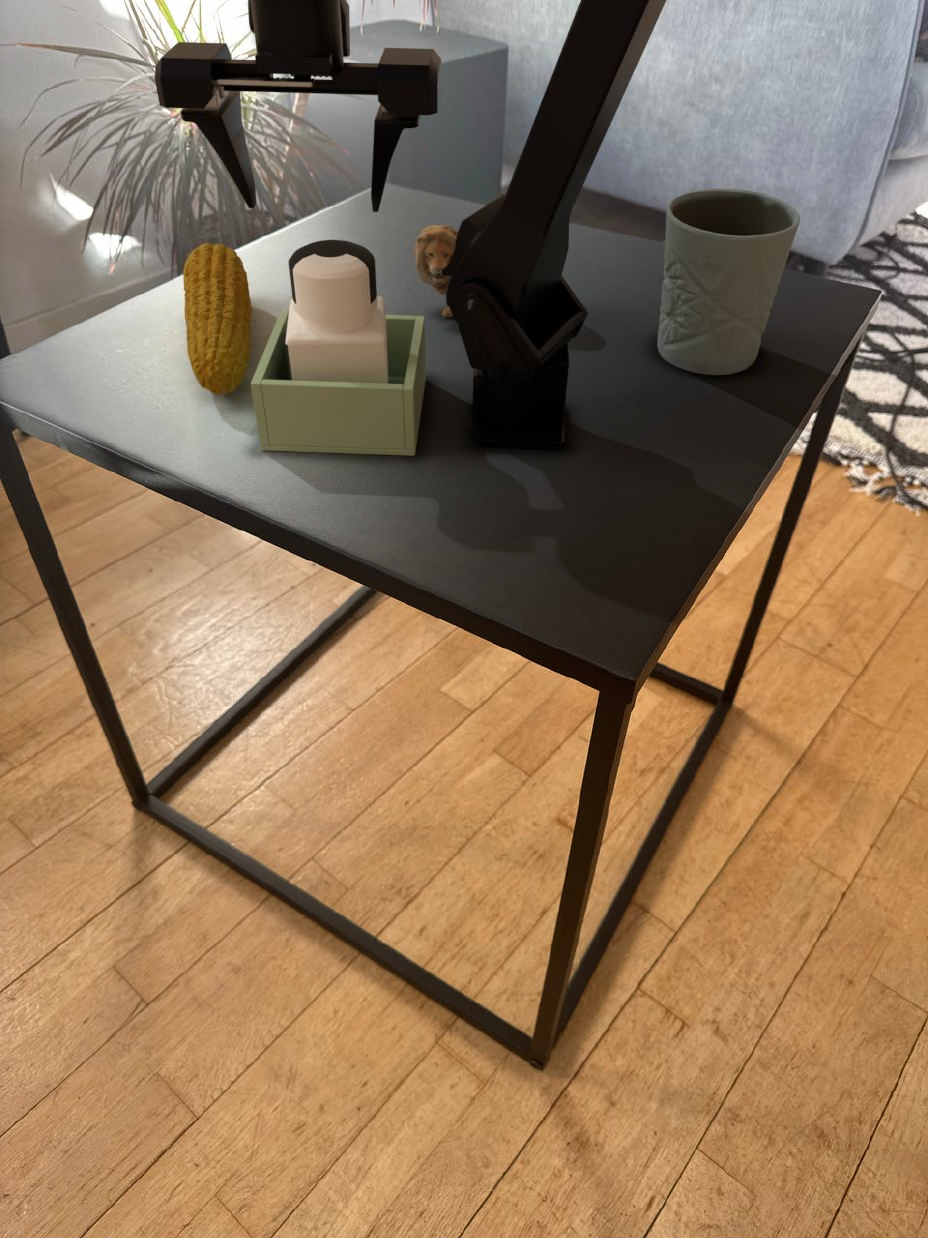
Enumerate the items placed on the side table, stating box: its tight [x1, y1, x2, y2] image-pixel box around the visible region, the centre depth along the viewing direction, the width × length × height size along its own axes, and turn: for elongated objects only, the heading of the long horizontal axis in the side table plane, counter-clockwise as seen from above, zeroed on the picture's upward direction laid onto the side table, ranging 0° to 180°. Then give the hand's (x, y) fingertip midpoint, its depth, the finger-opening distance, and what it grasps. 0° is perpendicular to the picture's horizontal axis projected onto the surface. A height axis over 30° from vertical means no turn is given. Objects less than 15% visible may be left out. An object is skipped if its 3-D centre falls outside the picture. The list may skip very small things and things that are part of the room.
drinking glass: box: [657, 188, 801, 376], centre depth 78 cm, size 10×10×12 cm
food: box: [182, 241, 253, 396], centre depth 79 cm, size 21×6×6 cm, turn 13°
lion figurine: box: [413, 224, 459, 319], centre depth 83 cm, size 15×5×9 cm, turn 116°
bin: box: [250, 310, 427, 457], centre depth 72 cm, size 11×11×6 cm
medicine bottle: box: [285, 239, 389, 384], centre depth 70 cm, size 7×7×12 cm
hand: (314, 207), depth 70 cm, fingers open, 9 cm apart
